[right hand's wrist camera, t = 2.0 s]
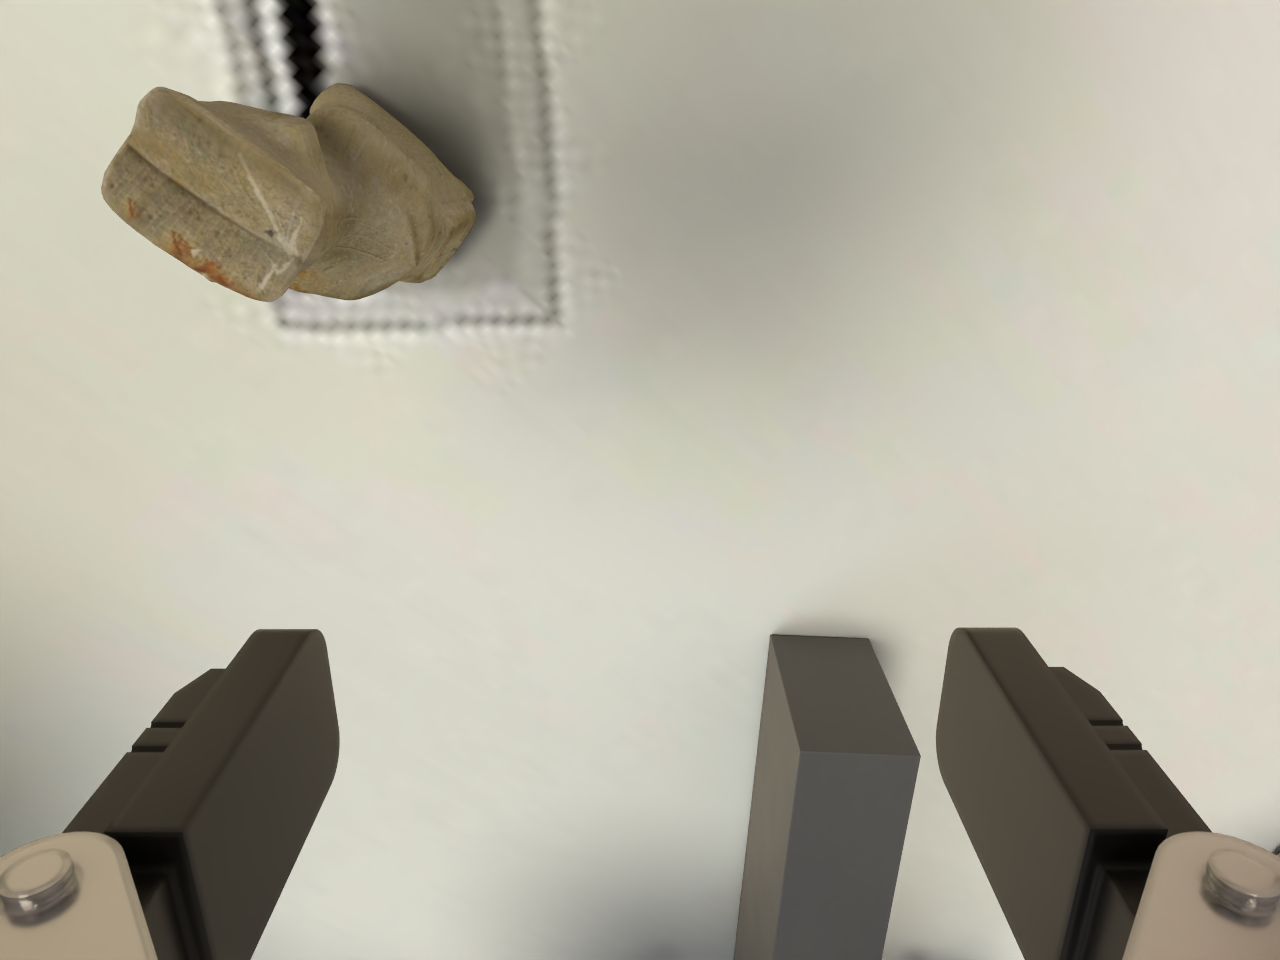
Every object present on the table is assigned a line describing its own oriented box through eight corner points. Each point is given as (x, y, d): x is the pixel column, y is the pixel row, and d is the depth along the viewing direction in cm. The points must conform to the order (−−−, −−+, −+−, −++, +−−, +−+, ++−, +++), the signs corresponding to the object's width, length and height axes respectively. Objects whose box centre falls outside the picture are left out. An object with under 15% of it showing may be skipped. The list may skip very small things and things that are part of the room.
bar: (770, 634, 43) (800, 751, 35) (869, 638, 43) (921, 755, 35) (728, 1004, 52) (744, 1165, 44) (810, 1007, 52) (841, 1168, 44)
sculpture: (360, 54, 34) (166, 5, 20) (511, 188, 36) (430, 229, 22) (274, 177, 36) (39, 212, 22) (423, 299, 37) (294, 404, 23)
